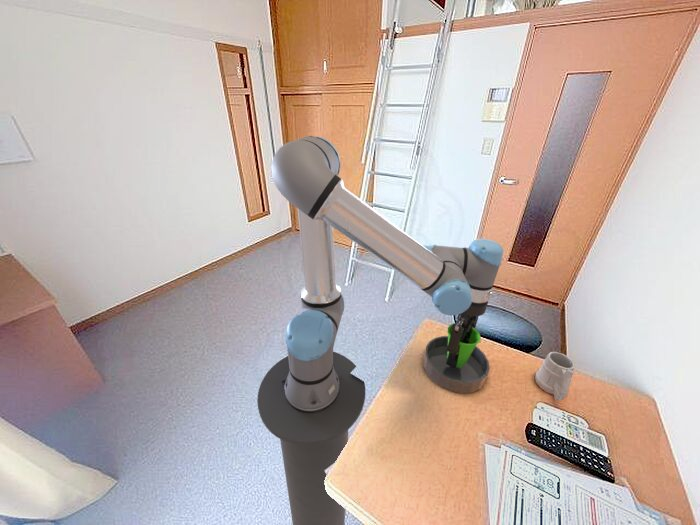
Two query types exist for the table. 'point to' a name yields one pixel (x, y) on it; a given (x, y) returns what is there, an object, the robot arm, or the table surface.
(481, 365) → the pan
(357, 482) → the table surface
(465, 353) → the cup
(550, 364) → the mug
